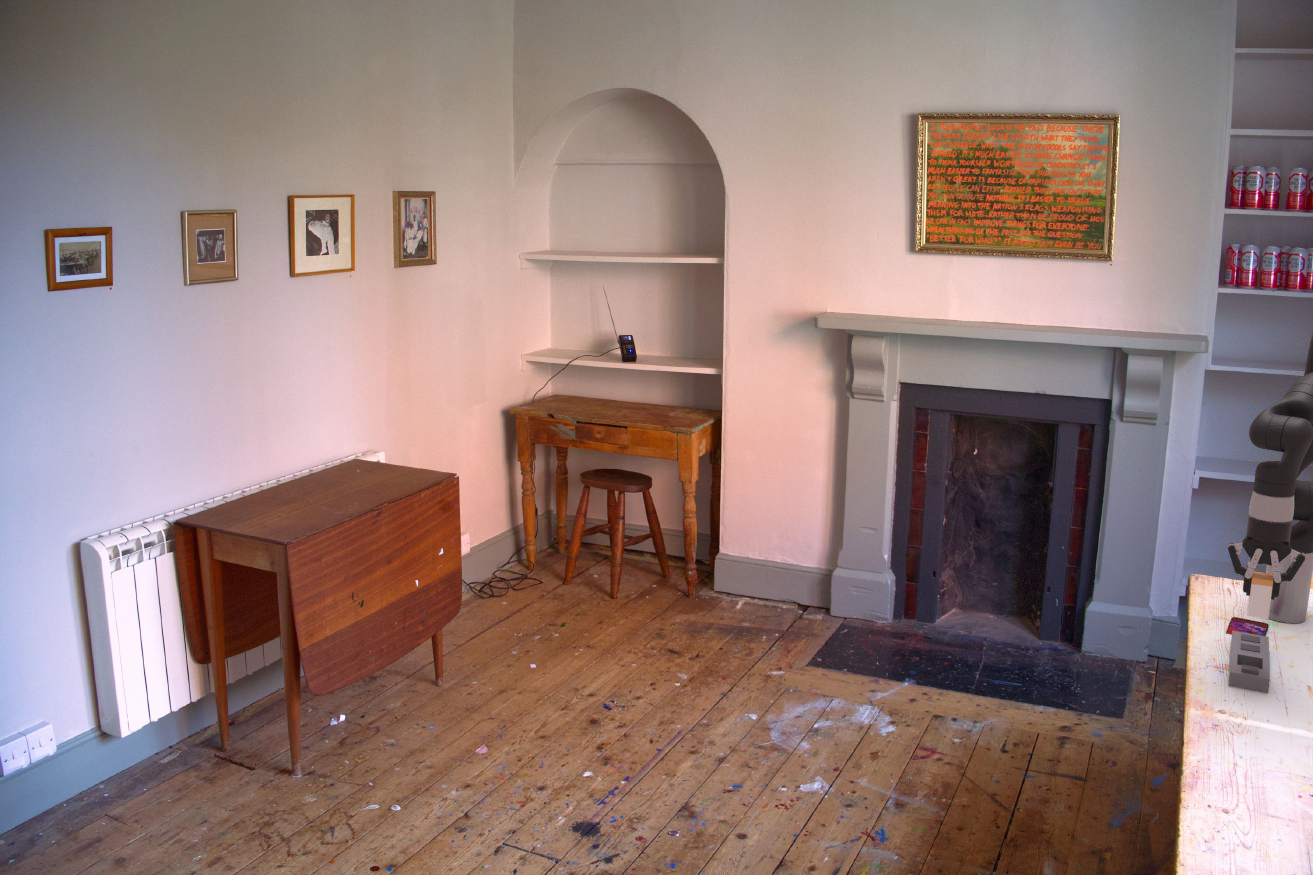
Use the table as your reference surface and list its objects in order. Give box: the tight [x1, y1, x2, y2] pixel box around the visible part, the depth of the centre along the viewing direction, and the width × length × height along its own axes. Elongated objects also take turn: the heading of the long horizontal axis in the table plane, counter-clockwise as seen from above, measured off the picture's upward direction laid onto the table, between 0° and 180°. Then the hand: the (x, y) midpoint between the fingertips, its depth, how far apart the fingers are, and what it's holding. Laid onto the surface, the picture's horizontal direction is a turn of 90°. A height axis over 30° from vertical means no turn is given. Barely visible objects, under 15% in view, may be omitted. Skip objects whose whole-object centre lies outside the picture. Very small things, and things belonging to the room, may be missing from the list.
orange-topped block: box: [1247, 570, 1273, 620], centre depth 209 cm, size 4×4×8 cm
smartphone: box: [1225, 616, 1269, 636], centre depth 238 cm, size 8×1×15 cm
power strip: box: [1228, 631, 1271, 694], centre depth 219 cm, size 22×7×5 cm, turn 151°
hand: (1260, 596), depth 209 cm, fingers closed on orange-topped block, 3 cm apart
